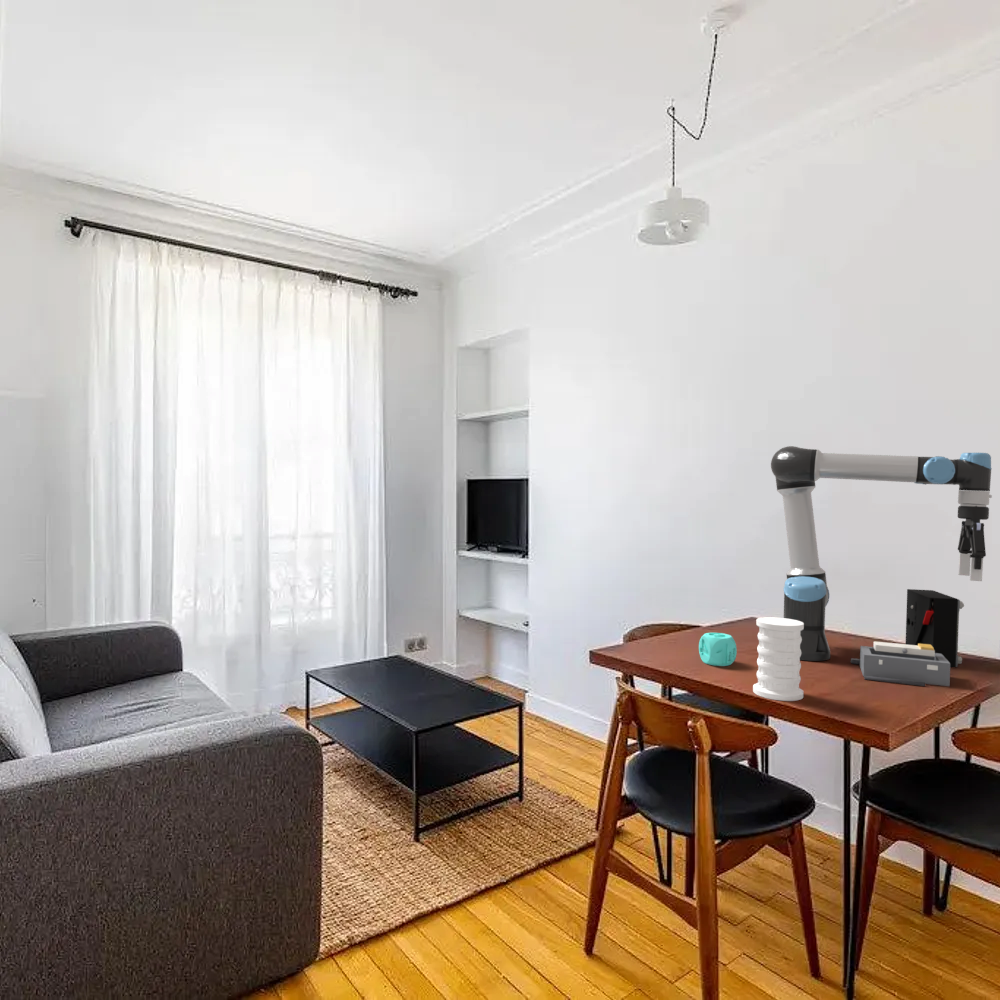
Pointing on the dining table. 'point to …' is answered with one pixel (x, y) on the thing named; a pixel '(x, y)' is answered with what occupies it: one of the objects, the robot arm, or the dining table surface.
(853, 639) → the dining table surface
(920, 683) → the dark grey thin bar
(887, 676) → the breaker housing
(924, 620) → the electrical component
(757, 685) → the decorative container
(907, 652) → the rocker
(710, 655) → the decorative dice
